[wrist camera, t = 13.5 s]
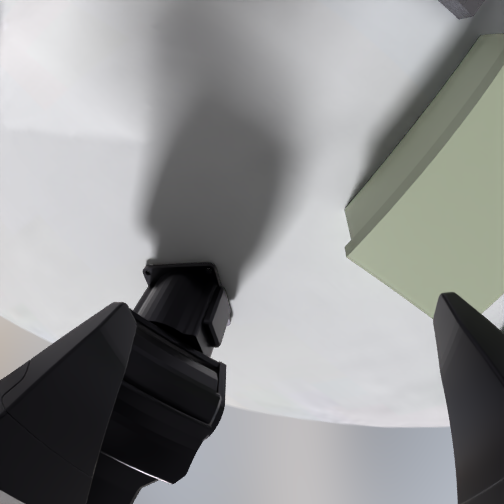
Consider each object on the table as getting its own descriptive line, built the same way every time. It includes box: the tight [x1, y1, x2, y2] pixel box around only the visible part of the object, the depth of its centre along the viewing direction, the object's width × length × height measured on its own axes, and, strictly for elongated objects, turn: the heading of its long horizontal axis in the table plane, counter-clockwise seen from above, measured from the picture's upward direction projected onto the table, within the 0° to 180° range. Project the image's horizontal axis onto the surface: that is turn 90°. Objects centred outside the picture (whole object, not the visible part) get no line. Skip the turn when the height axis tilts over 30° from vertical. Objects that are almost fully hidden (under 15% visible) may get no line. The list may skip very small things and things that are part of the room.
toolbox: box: [344, 33, 504, 319], centre depth 14 cm, size 17×11×6 cm, turn 149°
